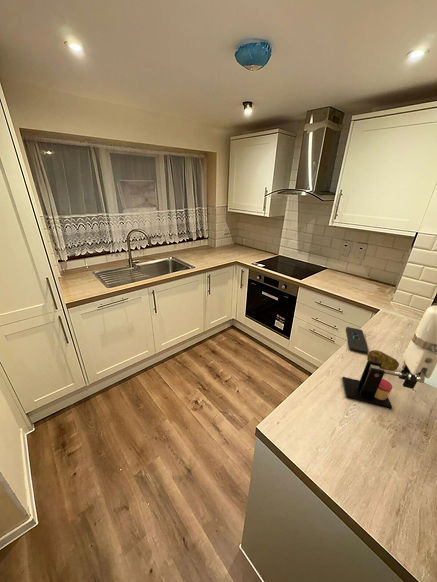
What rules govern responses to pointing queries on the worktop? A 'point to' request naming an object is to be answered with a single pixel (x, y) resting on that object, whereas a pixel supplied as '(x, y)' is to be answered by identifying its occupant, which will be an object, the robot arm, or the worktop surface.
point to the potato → (383, 360)
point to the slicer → (366, 386)
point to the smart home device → (356, 340)
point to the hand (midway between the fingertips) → (405, 382)
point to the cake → (383, 390)
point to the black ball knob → (391, 372)
